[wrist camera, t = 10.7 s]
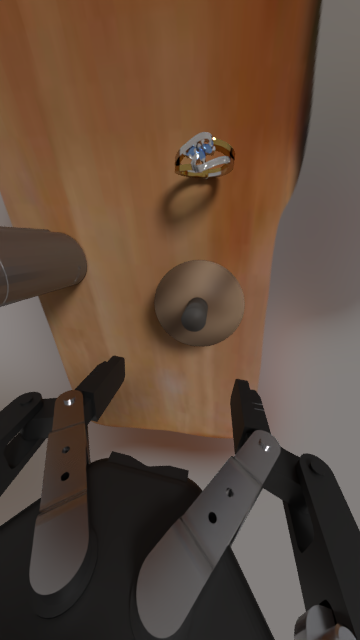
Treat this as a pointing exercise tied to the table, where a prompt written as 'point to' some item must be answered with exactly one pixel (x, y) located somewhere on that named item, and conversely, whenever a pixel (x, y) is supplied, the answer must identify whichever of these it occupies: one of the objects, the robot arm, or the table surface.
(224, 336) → the lid
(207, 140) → the ring
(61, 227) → the table surface
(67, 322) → the table surface
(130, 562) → the robot arm
